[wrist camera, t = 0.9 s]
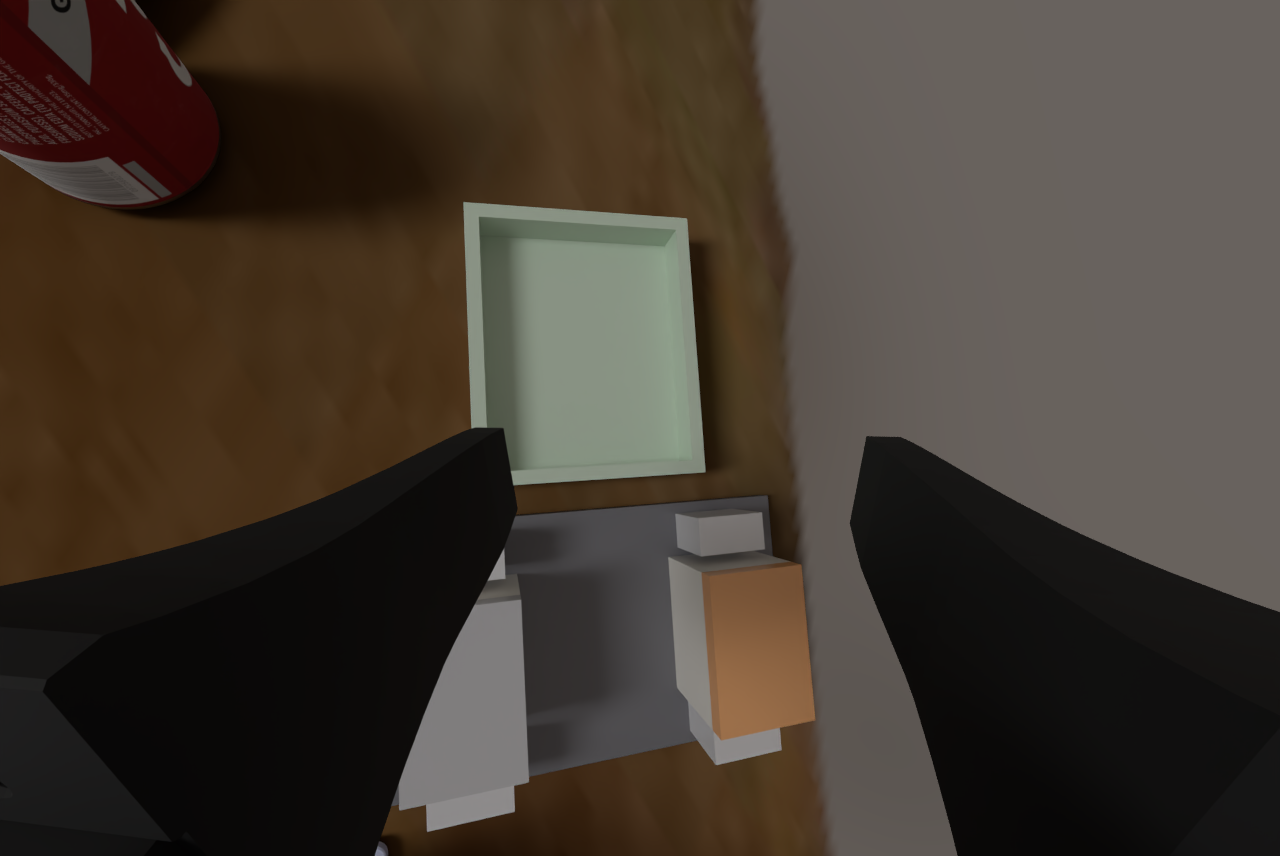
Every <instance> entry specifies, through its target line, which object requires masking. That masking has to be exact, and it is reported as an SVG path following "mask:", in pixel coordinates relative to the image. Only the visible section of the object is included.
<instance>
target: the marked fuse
mask: <svg viewBox="0 0 1280 856" xmlns="http://www.w3.org/2000/svg"><path fill="white" fill-rule="evenodd" d="M668 560H669V575H670V590H671V605H672V620H673V635H674V650H675V665H676V680H677V688H678V690H679V691H680V692H681V693H682V694H683V696H684V697H685V698H686V699H687V700H688V702H689V703H690V704H691V705H692V706H693V707H694V709H695V710H696V711H697V712H698V713H699V715H700V716H701V717H702V718H703V719H704V721H705V722H706V723H707V724H708V725H709V727H710V728H711V729H712V730H713V731H714V732H715V734H716V735H717V736H718V737H719V738H720V740H726V739H731V738H735V737H740V736H744V735H749V734H754V733H758V732H763V731H767V730H772V729H777V728H781V727H786V726H790V725H795V724H800V723H804V722H809V721H813V720H815V712H814V701H813V689H812V678H811V666H810V655H809V644H808V632H807V621H806V609H805V598H804V587H803V575H802V565H801V564H798V563H794V562H791V561H787V560H784V559H780V558H777V557H773V556H770V555H766V554H762V553H759V552H755V551H745V552H736V553H728V554H719V555H710V556H699V555H696V554H691V555H682V556H673V557H668Z"/></svg>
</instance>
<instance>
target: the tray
mask: <svg viewBox="0 0 1280 856" xmlns="http://www.w3.org/2000/svg"><path fill="white" fill-rule="evenodd" d="M463 203H464V231H465V258H466V286H467V314H468V341H469V369H470V397H471V424H472V428H475V427H484V428H504V434H505V439H506V445H507V451H508V457H509V462H510V468H511V474H512V480H513V485H523V484H538V483H553V482H568V481H583V480H598V479H613V478H628V477H643V476H658V475H673V474H688V473H703V472H706V471H705V457H704V444H703V430H702V416H701V403H700V389H699V376H698V362H697V349H696V335H695V321H694V308H693V294H692V281H691V267H690V253H689V240H688V226H687V218H673V217H659V216H646V215H632V214H619V213H605V212H591V211H578V210H564V209H550V208H537V207H523V206H510V205H496V204H482V203H469V202H463Z"/></svg>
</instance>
